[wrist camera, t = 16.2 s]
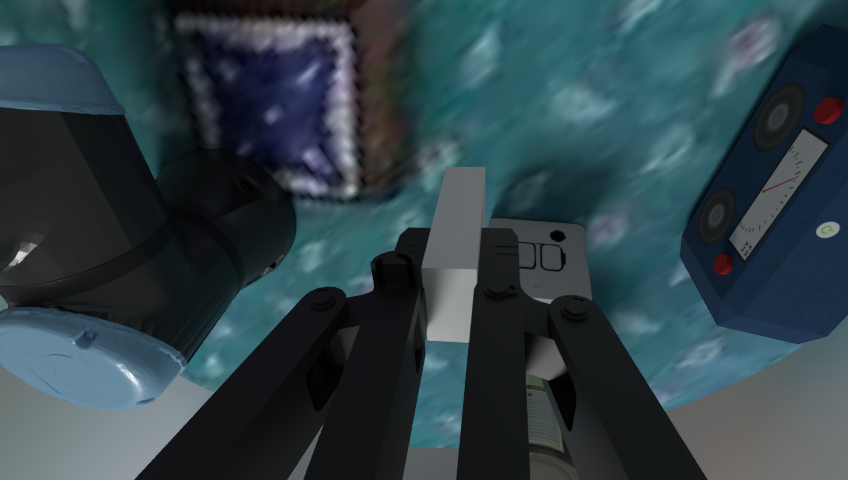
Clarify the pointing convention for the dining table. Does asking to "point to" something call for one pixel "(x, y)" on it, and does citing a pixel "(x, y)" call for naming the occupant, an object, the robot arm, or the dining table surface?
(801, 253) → the radio
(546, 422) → the coffee can
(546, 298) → the electrical switch
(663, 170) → the dining table surface
